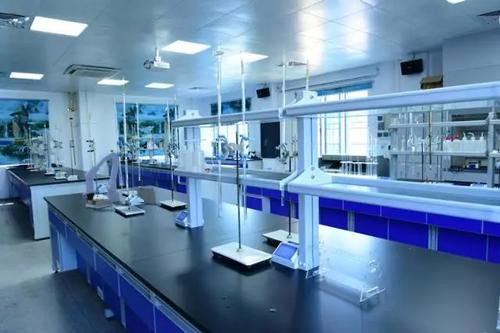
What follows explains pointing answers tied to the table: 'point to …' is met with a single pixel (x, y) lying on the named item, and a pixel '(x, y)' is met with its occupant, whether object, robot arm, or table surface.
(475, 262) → the table surface
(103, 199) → the brass block
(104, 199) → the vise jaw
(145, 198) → the geiger counter
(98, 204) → the vise bed
